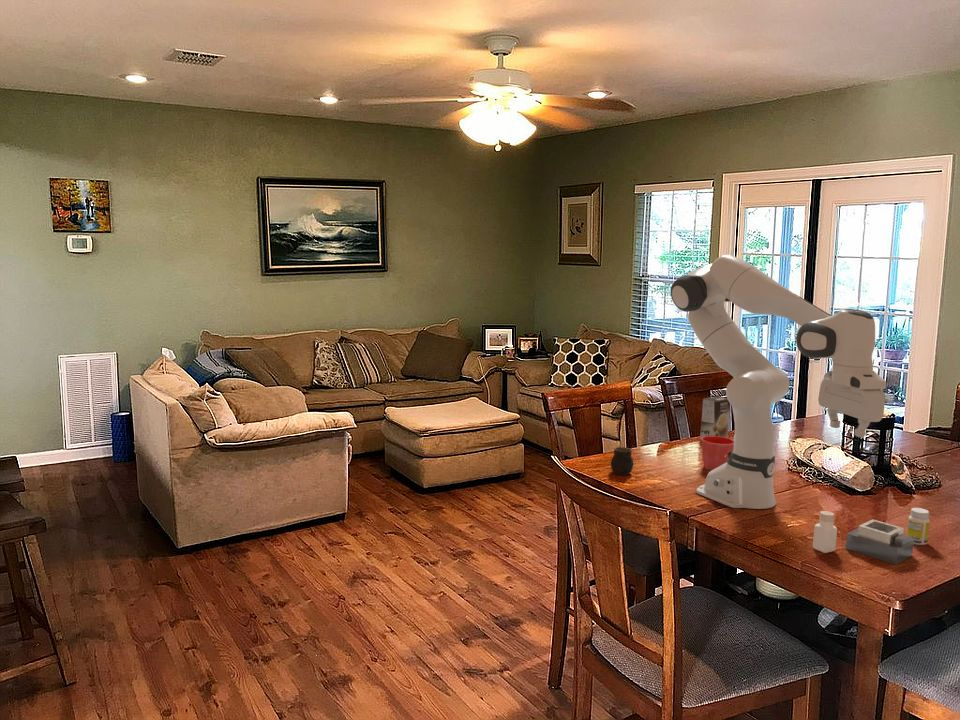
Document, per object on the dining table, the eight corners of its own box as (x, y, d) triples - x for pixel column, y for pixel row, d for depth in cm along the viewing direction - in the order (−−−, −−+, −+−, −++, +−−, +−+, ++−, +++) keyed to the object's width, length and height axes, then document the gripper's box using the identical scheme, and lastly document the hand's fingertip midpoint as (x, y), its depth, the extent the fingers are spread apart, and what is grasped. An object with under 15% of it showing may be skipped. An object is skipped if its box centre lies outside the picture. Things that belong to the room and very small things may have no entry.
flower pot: (728, 464, 265) (731, 436, 263) (736, 473, 254) (738, 444, 252) (696, 462, 266) (698, 434, 264) (702, 472, 255) (704, 443, 253)
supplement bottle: (920, 538, 202) (924, 507, 201) (931, 545, 197) (935, 513, 196) (902, 538, 202) (905, 506, 200) (912, 545, 197) (916, 513, 196)
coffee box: (714, 443, 291) (717, 401, 288) (699, 440, 295) (702, 398, 293) (728, 440, 296) (731, 398, 294) (713, 436, 301) (716, 395, 299)
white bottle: (822, 545, 196) (825, 509, 194) (836, 551, 192) (839, 514, 191) (811, 548, 194) (814, 511, 192) (825, 554, 190) (828, 516, 189)
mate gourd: (615, 468, 257) (617, 438, 255) (637, 473, 253) (639, 443, 251) (606, 473, 251) (608, 443, 249) (628, 478, 247) (630, 447, 245)
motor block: (845, 548, 194) (848, 523, 193) (862, 540, 200) (864, 516, 199) (896, 564, 185) (899, 538, 184) (912, 555, 191) (915, 530, 189)
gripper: (814, 369, 200) (810, 422, 202) (867, 383, 180) (862, 442, 182) (836, 369, 201) (832, 422, 203) (891, 383, 181) (886, 441, 183)
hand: (846, 431), depth 192 cm, fingers open, 8 cm apart
